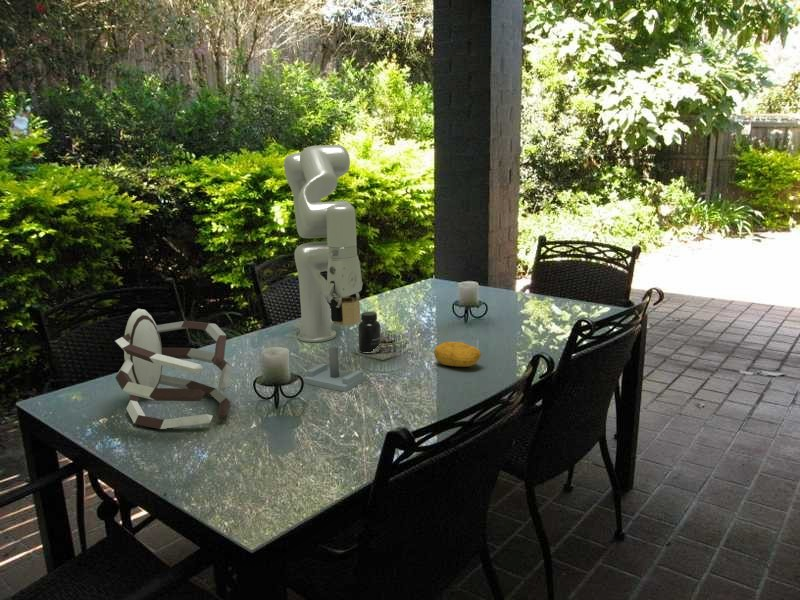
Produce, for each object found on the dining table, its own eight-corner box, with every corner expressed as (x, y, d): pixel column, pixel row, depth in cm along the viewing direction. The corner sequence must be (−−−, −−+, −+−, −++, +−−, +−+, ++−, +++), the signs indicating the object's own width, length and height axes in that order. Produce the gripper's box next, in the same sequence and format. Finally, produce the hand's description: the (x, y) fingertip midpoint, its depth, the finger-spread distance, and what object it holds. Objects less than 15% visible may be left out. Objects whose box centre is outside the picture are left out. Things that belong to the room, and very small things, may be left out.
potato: (443, 358, 195) (442, 336, 194) (484, 366, 188) (485, 343, 186) (429, 366, 189) (429, 343, 187) (472, 374, 182) (472, 351, 180)
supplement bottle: (378, 354, 200) (376, 316, 197) (356, 354, 201) (354, 316, 198) (383, 347, 206) (382, 310, 203) (362, 347, 208) (360, 310, 205)
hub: (327, 323, 175) (326, 301, 174) (342, 316, 181) (341, 295, 180) (349, 326, 172) (348, 304, 170) (364, 319, 178) (363, 298, 176)
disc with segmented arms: (184, 376, 184) (263, 415, 163) (89, 409, 165) (165, 458, 143) (176, 293, 177) (259, 323, 156) (76, 317, 158) (155, 355, 136)
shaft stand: (303, 383, 179) (301, 349, 176) (326, 371, 187) (324, 339, 185) (345, 392, 172) (343, 357, 169) (366, 379, 180) (365, 346, 177)
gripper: (334, 259, 163) (338, 327, 167) (372, 247, 177) (374, 311, 182) (310, 257, 167) (314, 324, 171) (349, 246, 181) (352, 308, 186)
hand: (345, 317), depth 176 cm, fingers closed on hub, 7 cm apart
